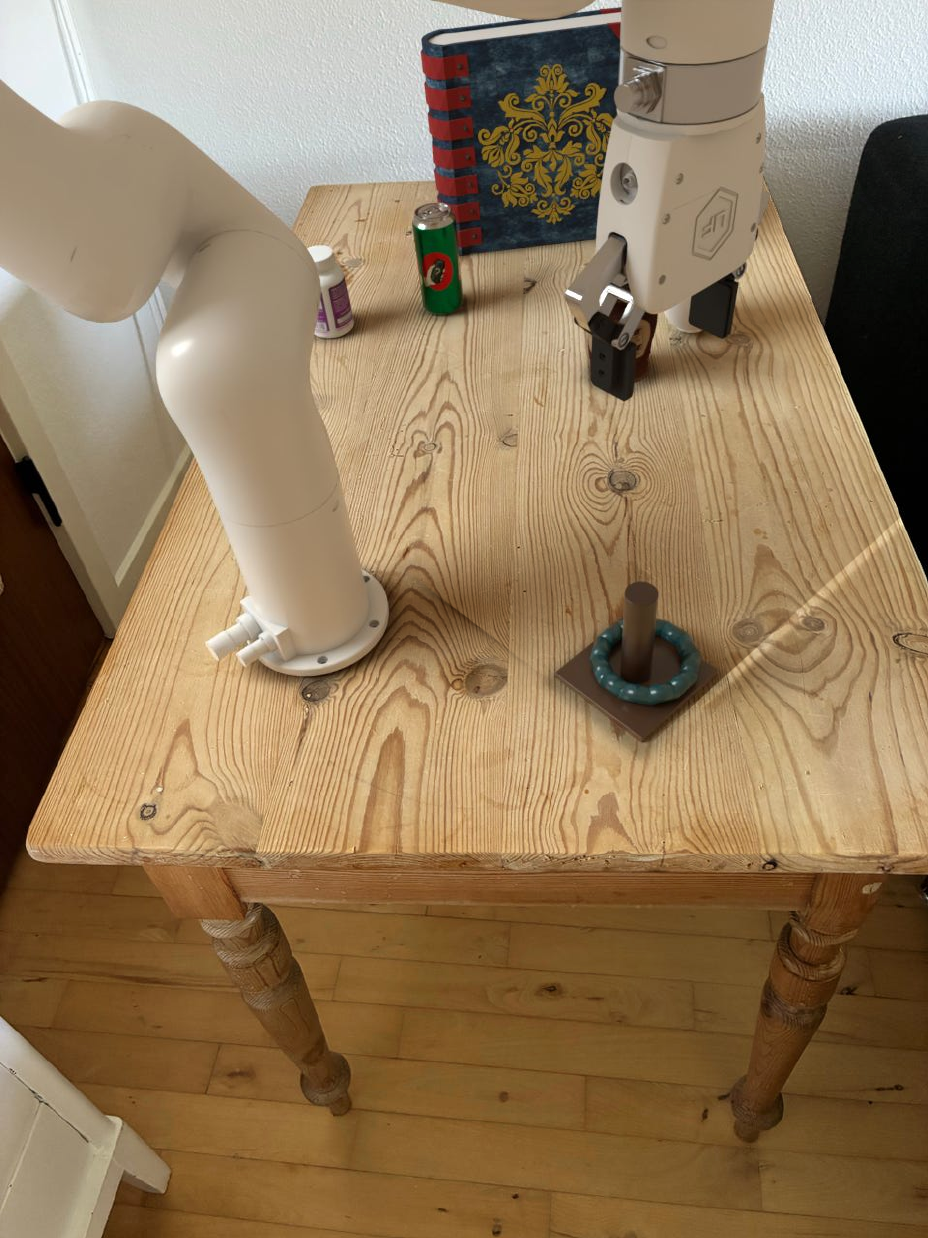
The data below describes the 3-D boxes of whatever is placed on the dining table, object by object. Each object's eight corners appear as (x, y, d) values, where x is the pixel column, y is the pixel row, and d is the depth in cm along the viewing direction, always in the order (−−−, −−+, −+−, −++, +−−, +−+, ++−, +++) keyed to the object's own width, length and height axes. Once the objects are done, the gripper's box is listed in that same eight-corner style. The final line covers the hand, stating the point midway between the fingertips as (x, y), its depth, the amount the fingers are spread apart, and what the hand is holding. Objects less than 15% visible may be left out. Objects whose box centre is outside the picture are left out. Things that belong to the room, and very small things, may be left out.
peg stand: (640, 747, 71) (649, 662, 63) (554, 682, 75) (552, 595, 68) (716, 679, 74) (732, 590, 67) (629, 621, 79) (635, 532, 71)
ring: (651, 726, 70) (652, 715, 69) (569, 666, 75) (569, 655, 74) (721, 663, 74) (723, 651, 73) (638, 609, 78) (639, 597, 77)
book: (443, 259, 124) (420, 49, 105) (440, 234, 128) (418, 29, 110) (634, 236, 123) (644, 21, 105) (624, 212, 128) (632, 2, 109)
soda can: (472, 307, 115) (463, 210, 106) (437, 322, 113) (426, 225, 104) (449, 291, 118) (438, 196, 109) (415, 306, 116) (402, 210, 107)
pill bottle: (348, 312, 117) (333, 237, 109) (359, 333, 113) (344, 257, 106) (306, 322, 116) (289, 248, 109) (315, 344, 112) (298, 268, 105)
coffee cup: (655, 399, 99) (664, 285, 89) (577, 396, 101) (577, 283, 91) (661, 353, 105) (669, 241, 95) (586, 350, 106) (587, 240, 97)
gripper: (632, 150, 44) (614, 442, 57) (846, 47, 51) (788, 328, 64) (522, 112, 48) (528, 393, 61) (735, 21, 55) (701, 290, 68)
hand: (661, 359), depth 62 cm, fingers open, 9 cm apart
